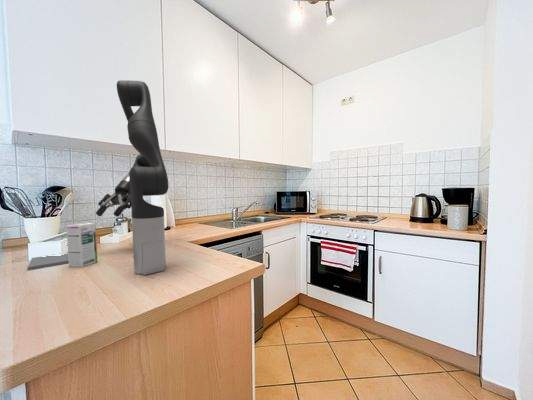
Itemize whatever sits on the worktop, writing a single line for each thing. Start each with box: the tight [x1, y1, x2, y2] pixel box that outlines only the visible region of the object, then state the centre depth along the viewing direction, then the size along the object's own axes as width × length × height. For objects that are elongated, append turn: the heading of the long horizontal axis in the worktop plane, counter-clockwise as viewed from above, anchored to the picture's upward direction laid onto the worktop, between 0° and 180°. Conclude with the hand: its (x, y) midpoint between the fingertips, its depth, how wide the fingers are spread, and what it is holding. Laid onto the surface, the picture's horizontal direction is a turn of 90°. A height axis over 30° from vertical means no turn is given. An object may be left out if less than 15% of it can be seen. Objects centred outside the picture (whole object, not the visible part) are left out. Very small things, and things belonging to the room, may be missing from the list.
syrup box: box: [65, 221, 99, 268], centre depth 80 cm, size 6×6×14 cm
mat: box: [27, 252, 69, 271], centre depth 84 cm, size 14×12×1 cm
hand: (106, 215), depth 89 cm, fingers open, 8 cm apart
